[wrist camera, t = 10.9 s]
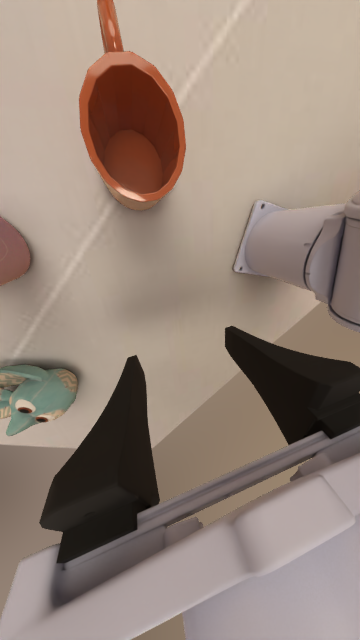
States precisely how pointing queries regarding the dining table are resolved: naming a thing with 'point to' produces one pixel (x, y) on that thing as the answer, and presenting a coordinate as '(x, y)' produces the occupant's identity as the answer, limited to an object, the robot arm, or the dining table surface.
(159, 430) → the dining table surface
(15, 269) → the beverage can
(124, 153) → the mug
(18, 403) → the stuffed animal
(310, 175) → the dining table surface
